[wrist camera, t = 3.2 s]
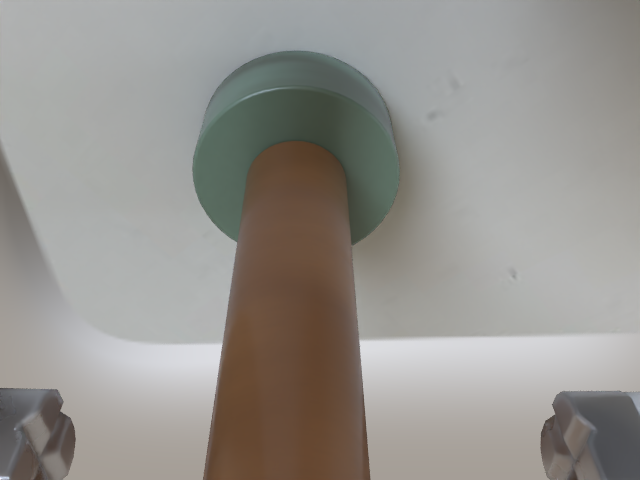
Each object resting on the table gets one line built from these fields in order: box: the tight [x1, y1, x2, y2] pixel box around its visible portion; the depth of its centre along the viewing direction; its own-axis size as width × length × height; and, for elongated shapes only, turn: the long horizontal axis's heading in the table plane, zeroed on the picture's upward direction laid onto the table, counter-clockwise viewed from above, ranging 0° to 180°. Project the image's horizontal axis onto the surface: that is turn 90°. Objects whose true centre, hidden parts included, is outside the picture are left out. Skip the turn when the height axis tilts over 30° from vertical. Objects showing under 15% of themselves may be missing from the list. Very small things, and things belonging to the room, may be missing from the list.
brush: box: [192, 51, 400, 480], centre depth 12 cm, size 5×5×12 cm
